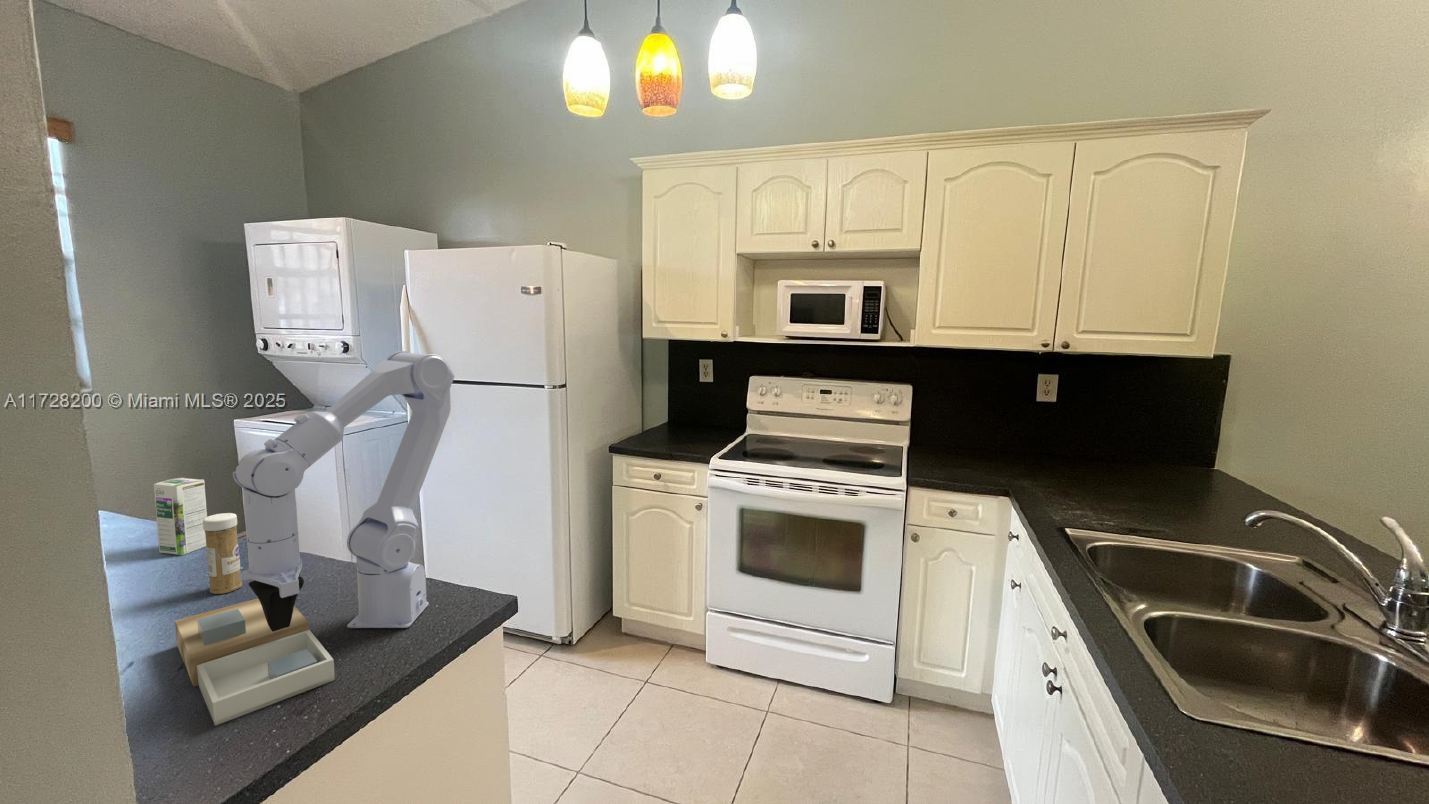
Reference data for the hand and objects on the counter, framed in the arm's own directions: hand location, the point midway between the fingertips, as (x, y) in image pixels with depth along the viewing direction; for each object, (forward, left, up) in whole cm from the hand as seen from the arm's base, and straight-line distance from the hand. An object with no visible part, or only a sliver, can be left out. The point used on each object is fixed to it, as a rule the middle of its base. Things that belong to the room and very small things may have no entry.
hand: (279, 627), depth 82 cm
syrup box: (+45, -40, -5) cm, 60 cm away
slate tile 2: (-4, +5, -2) cm, 7 cm away
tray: (-2, +6, -5) cm, 8 cm away
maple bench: (+7, -3, -5) cm, 9 cm away
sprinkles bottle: (+24, -22, -5) cm, 33 cm away
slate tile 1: (+8, 0, -1) cm, 8 cm away
